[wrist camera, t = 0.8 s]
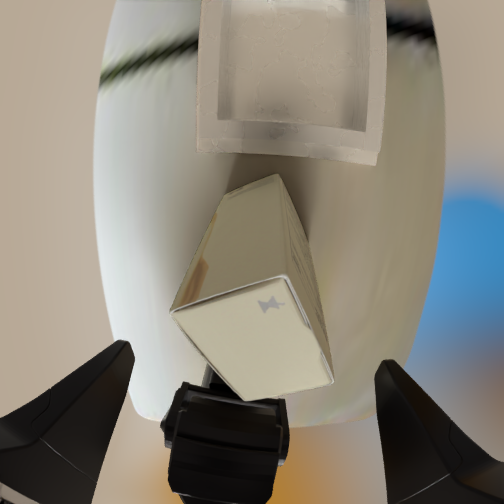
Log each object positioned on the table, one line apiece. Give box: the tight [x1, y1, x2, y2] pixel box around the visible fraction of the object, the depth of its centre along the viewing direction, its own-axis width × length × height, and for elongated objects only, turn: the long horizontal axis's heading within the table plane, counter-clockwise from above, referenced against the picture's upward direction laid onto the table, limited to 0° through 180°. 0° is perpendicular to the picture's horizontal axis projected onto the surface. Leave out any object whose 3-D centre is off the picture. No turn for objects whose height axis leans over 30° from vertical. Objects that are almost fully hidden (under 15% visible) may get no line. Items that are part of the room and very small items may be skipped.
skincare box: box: [169, 173, 335, 401], centre depth 15 cm, size 6×4×12 cm
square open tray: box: [196, 0, 387, 166], centre depth 13 cm, size 14×12×4 cm
